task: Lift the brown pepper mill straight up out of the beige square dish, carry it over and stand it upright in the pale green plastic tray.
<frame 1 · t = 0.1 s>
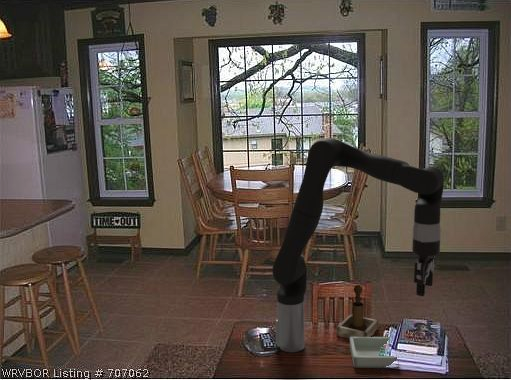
hand: (424, 290, 154), 29 cm above the table, tool pointing down, fingers open, 8 cm apart
brown pepper mill: (357, 332, 192), resting in beige square dish
tray: (372, 356, 174), on the table
beige square dish: (357, 332, 192), on the table
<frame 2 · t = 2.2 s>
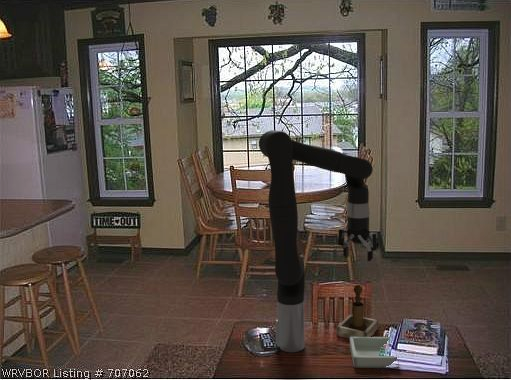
hand: (358, 259, 186), 28 cm above the table, tool pointing down, fingers open, 8 cm apart
nothing on the table moved.
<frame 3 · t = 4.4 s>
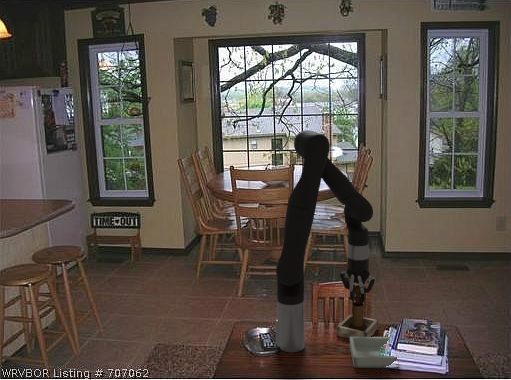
hand: (357, 301, 189), 12 cm above the table, tool pointing down, fingers closed on brown pepper mill, 3 cm apart
brown pepper mill: (357, 332, 192), resting in beige square dish, touching gripper
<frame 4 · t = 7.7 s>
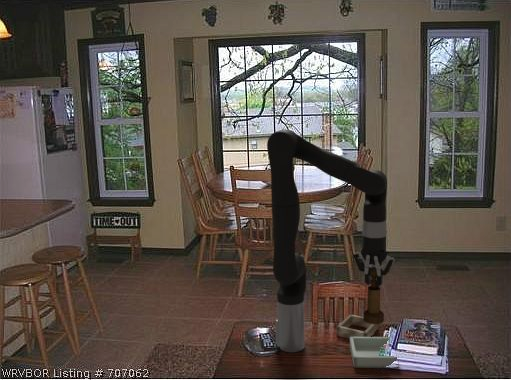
hand: (373, 284, 170), 25 cm above the table, tool pointing down, fingers closed on brown pepper mill, 2 cm apart
brown pepper mill: (373, 320, 172), point 13 cm above the table, touching gripper
when the fingers open (14 cm above the table, at t = 10.5 s): brown pepper mill drops 1 cm, resting on tray.
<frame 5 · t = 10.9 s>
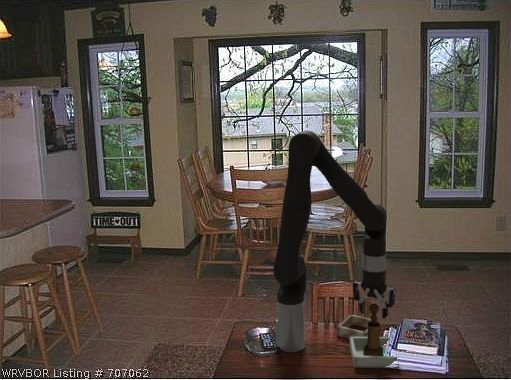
hand: (373, 315, 172), 15 cm above the table, tool pointing down, fingers open, 6 cm apart
brown pepper mill: (373, 355, 174), resting on tray
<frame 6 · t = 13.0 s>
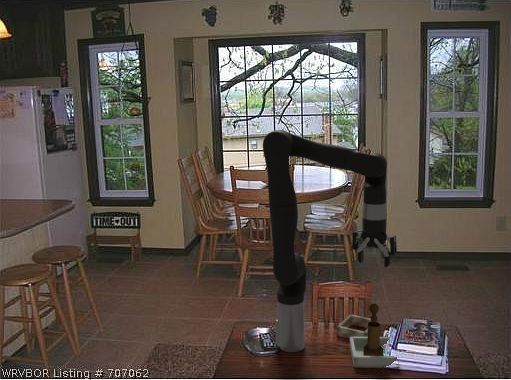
hand: (373, 264, 171), 31 cm above the table, tool pointing down, fingers open, 8 cm apart
nothing on the table moved.
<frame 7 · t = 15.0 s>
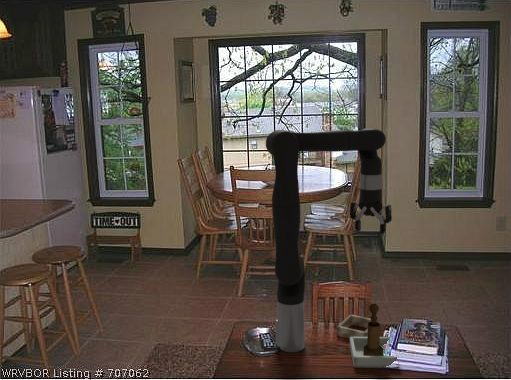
hand: (370, 232, 183), 38 cm above the table, tool pointing down, fingers open, 8 cm apart
nothing on the table moved.
at the end: brown pepper mill inside the target area on the tray (0.1 cm from its centre), point 0.4 cm above the tray's base; brown pepper mill tilted 0°; the gripper is holding nothing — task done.
